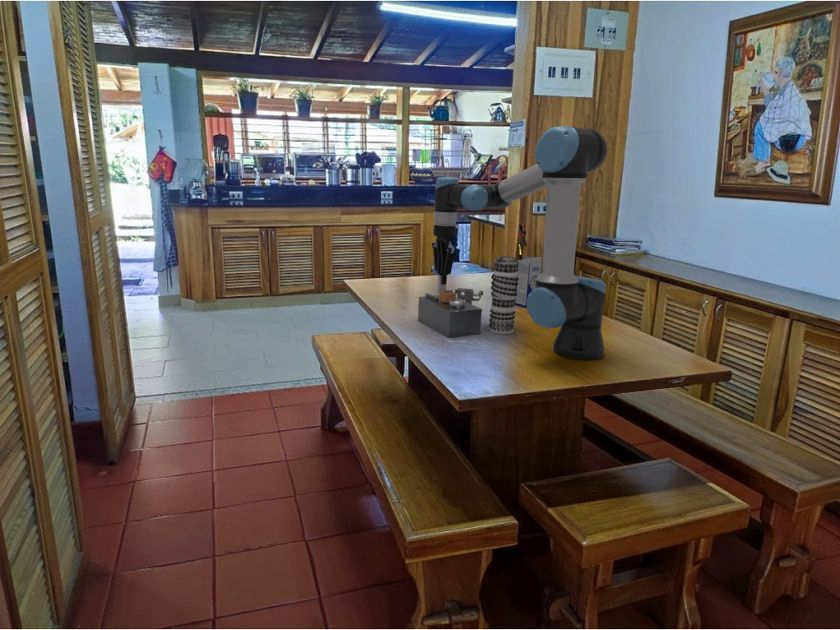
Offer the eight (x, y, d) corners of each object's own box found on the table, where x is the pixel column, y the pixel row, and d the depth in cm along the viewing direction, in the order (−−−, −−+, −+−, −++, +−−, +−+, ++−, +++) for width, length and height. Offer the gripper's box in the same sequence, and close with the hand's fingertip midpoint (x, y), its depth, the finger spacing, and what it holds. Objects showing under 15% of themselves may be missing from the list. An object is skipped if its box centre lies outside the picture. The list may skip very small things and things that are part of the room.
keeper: (455, 301, 198) (456, 291, 197) (445, 302, 196) (445, 292, 195) (449, 299, 201) (450, 289, 200) (439, 300, 199) (439, 289, 198)
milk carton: (526, 308, 229) (531, 258, 224) (513, 304, 234) (517, 255, 229) (537, 306, 233) (542, 256, 228) (524, 302, 238) (528, 254, 233)
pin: (466, 331, 194) (467, 302, 192) (452, 332, 192) (454, 303, 189) (458, 327, 199) (459, 298, 196) (444, 328, 196) (446, 299, 194)
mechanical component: (481, 318, 212) (482, 291, 209) (453, 315, 214) (454, 289, 211) (482, 316, 215) (483, 289, 212) (454, 313, 217) (455, 287, 214)
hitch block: (480, 333, 193) (482, 306, 190) (448, 337, 187) (450, 309, 185) (447, 317, 212) (448, 291, 209) (417, 320, 206) (418, 294, 204)
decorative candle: (484, 332, 195) (489, 258, 189) (491, 325, 203) (496, 254, 197) (511, 335, 192) (517, 260, 185) (517, 328, 200) (523, 256, 194)
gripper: (464, 226, 191) (460, 296, 198) (445, 222, 203) (441, 288, 209) (444, 227, 188) (441, 298, 194) (426, 222, 199) (423, 289, 205)
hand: (441, 292), depth 201 cm, fingers closed
